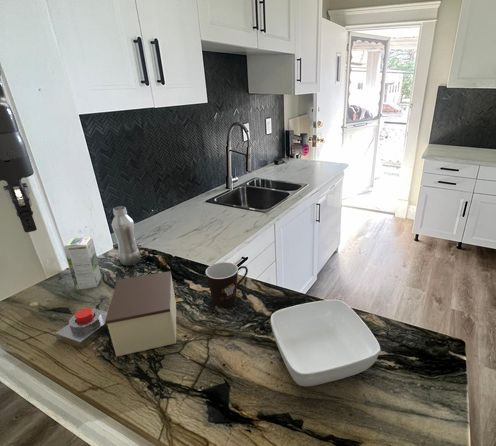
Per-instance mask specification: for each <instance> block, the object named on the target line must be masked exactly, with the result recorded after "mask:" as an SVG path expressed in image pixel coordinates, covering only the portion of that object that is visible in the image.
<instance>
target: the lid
mask: <svg viewBox="0 0 496 446" xmlns="http://www.w3.org/2000/svg"><path fill="white" fill-rule="evenodd" d="M171 276H172V272H171V270H169V271H163V272H157V273H151V274H143V275H137V276H132V277H131V276H130V277H125V278H119V279H117V280H116V283H115V286H114V290H113V294H112V296H111V299H110V304H109V307H108V310H107V312H108V313H107V316H106V320H105V323H106V324H109V323H114V322H119V321H125V320H130V319H135V318H140V317H145V316H150V315H155V314H160V313H166V312H170V298H171Z"/></svg>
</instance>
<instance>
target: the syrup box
mask: <svg viewBox="0 0 496 446" xmlns="http://www.w3.org/2000/svg"><path fill="white" fill-rule="evenodd" d="M63 250H64V254H65V256H66V260H67V264H68V267H69V271H70V275H71V277H72V282H73V284H74V288H75V291H79V290H86V289H87V290H88V289H92V288H98V286H99V284H100V283H101V280H102V277H103V275H102V271H101V267H100V263H99V260H98V256H97V255H98V254H97V251H96V248H95V243H94V238H93V237H92V236H80V237H73V238H70V239H69V240H68V241H67V243H66V244H65V245H64V246H63Z"/></svg>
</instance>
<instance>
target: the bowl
mask: <svg viewBox="0 0 496 446" xmlns="http://www.w3.org/2000/svg"><path fill="white" fill-rule="evenodd" d="M270 327H271V331H272V334H273V337H274V341H275V344H276V347H277V348H278V352H279V353H280V355H281V359H282V360H283V363H284V364H285V365H284V366H285V367H286V369H287V372H288V373H289V375H290V377H291V378H292V380H293V381H294V382H295V384H297V385H298V386H300V387H314V386H318V385H322V384H327V383H332V382H334V381H339V380H341V379H346V378H348V377H351V376H355V375H357V374H360V373H363V372H364V371H367V370H368V369H370V368H371V367H372V366H373V365H374V364H375V362H376V361H377V359H378V357H379V356H380V353H381V346H380V345H381V344H380V343H379V341H378V340H377V338H376V336H375V335H374V334H373V332H372V331H371V329H370V327H368V325H367V324H366V323H365V322H364V321H363V320H362V318H361V317H360V316H359V315H358V314H357V312H355V310H354V309H353V308H352V307H351V306H349V304H347V303H346V302H344V301H343V300H340V299H325V300H318V301H311V302H305V303H300V304H296V305H293V306H288V307H285V308H280V309H278V310H276V311H274V312H273V313H272V314H271V316H270Z"/></svg>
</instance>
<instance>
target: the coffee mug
mask: <svg viewBox="0 0 496 446" xmlns="http://www.w3.org/2000/svg"><path fill="white" fill-rule="evenodd" d="M241 269H245V272H244V274H243V276H242V277H241V279H240V280H239V281H238V278H239V277H238V275H239V271H240V270H241ZM248 273H249V269H248V267H247V266H246V265H241V266H239V267H238V265H237V264H235V263H233V262H229V261H220V262H216V263H213V264H211V265H209V266H208V267H207V268H206V269H205V276H206V280H207V283H208V288H209V292H210V295H211V299H212V303H213V305H214V306H216V307H217V308H229V307H230V306H233V305H234V304H235V303H236V301H237V291H238V290H237V289H238V286H239V285H240V284H241V283H242V282H243V281H244V280H245V278H246V276H247V275H248Z"/></svg>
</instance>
